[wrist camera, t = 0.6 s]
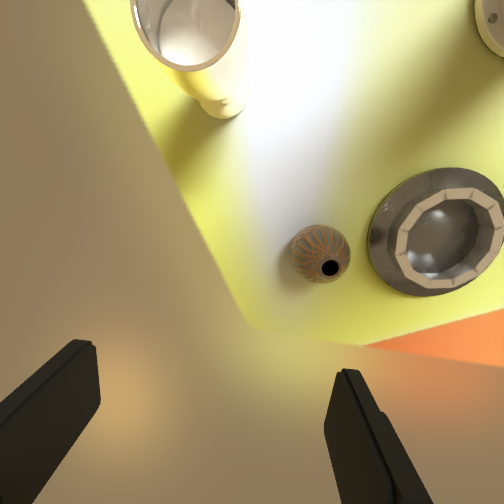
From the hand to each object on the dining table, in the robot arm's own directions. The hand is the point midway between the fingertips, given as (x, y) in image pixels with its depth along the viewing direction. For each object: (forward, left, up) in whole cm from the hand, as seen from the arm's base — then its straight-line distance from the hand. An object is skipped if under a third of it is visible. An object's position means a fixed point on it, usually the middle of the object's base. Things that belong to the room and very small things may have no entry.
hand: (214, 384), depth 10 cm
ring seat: (-21, +13, -25) cm, 35 cm away
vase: (-7, +6, -26) cm, 27 cm away
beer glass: (-7, -16, -26) cm, 31 cm away
